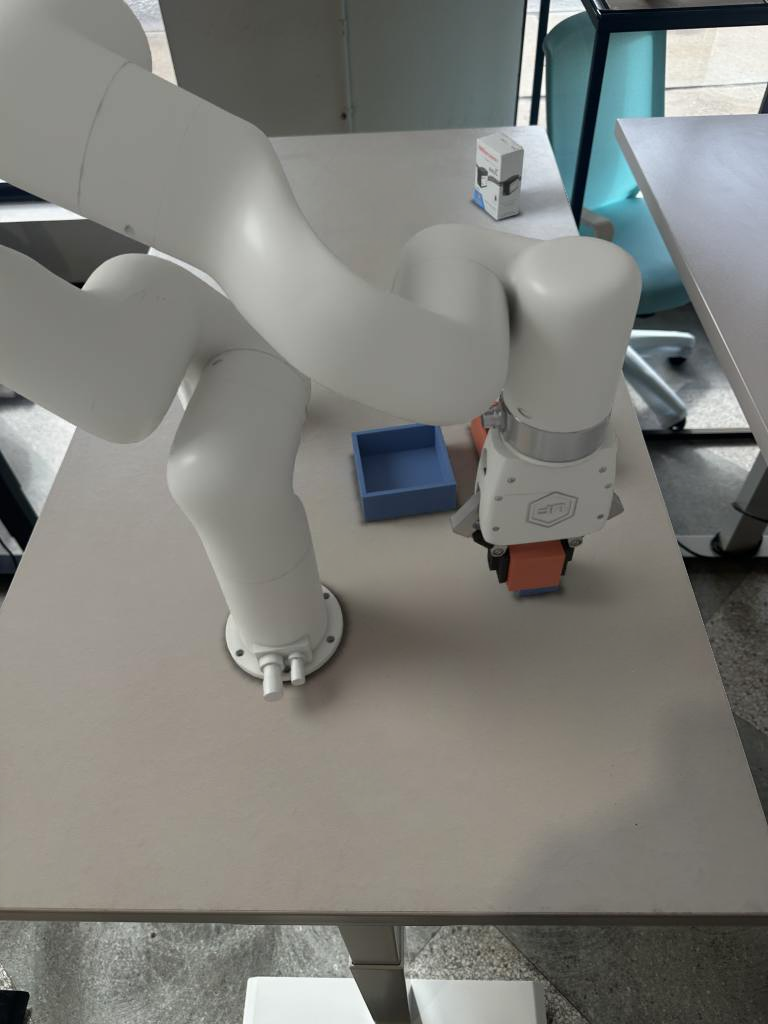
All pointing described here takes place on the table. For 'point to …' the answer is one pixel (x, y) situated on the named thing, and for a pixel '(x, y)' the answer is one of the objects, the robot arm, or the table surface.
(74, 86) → the robot arm
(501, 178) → the ink box
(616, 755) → the table surface
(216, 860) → the table surface
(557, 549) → the terracotta block
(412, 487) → the blue bin
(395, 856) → the table surface
